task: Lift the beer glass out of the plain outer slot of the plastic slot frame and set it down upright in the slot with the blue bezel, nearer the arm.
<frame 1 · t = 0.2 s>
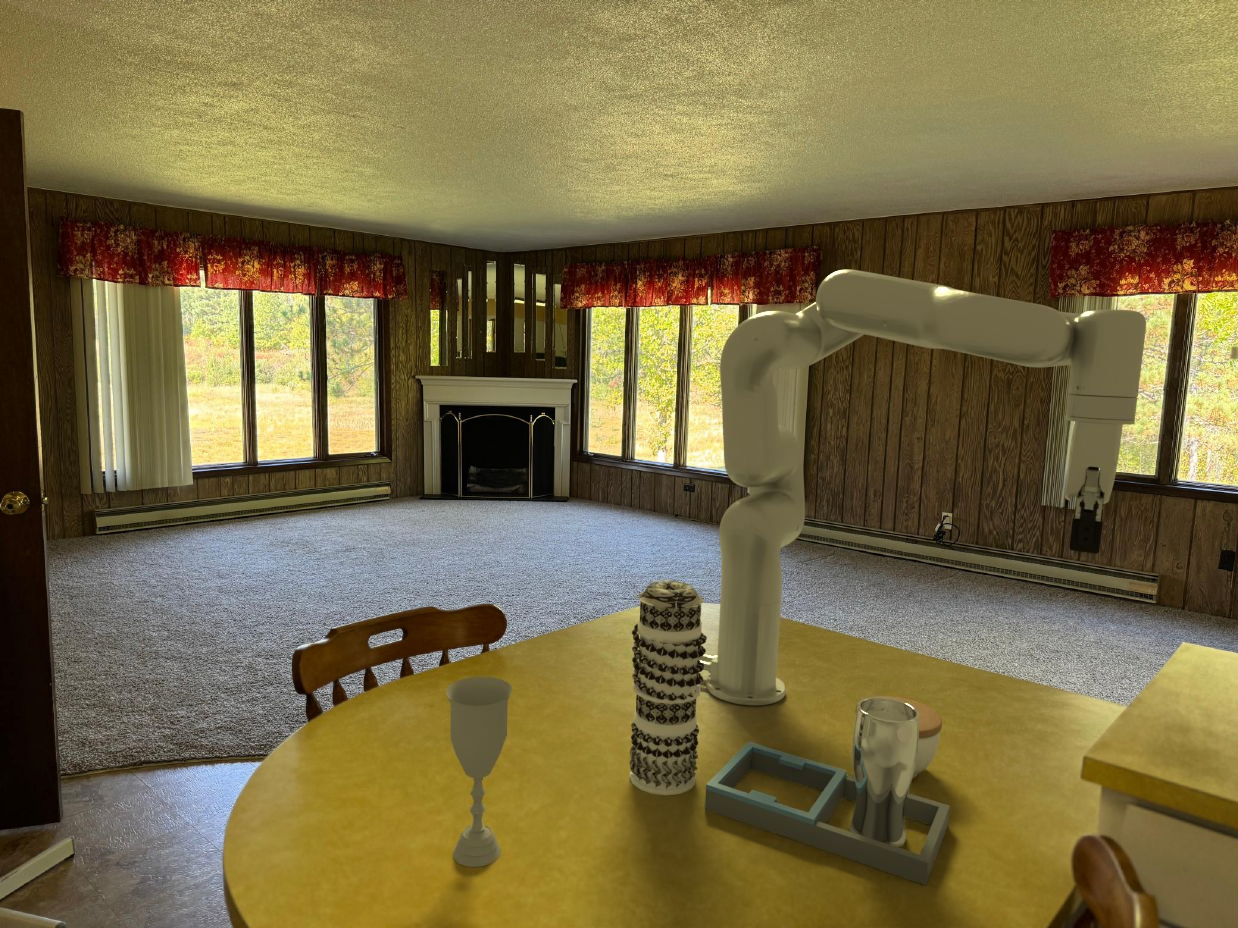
hand: (1084, 544, 105), 31 cm above the table, tool pointing down, fingers open, 9 cm apart
chalice: (476, 853, 87), on the table
beer glass: (877, 835, 93), resting in slot frame
decorative candle: (662, 779, 104), on the table
slot frame: (825, 817, 96), on the table
lidded jar: (893, 769, 109), on the table
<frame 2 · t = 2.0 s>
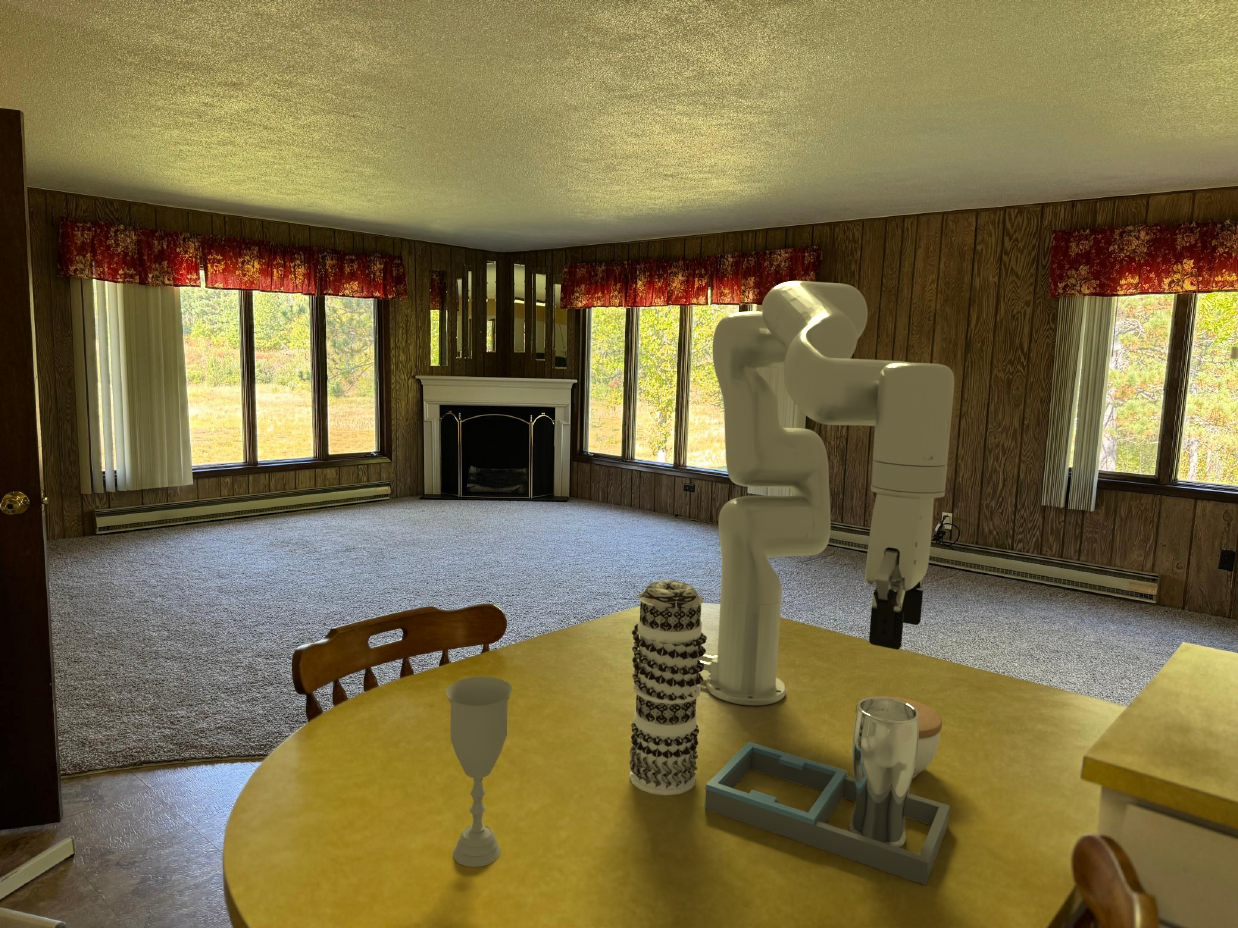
hand: (895, 633, 90), 24 cm above the table, tool pointing down, fingers open, 9 cm apart
nothing on the table moved.
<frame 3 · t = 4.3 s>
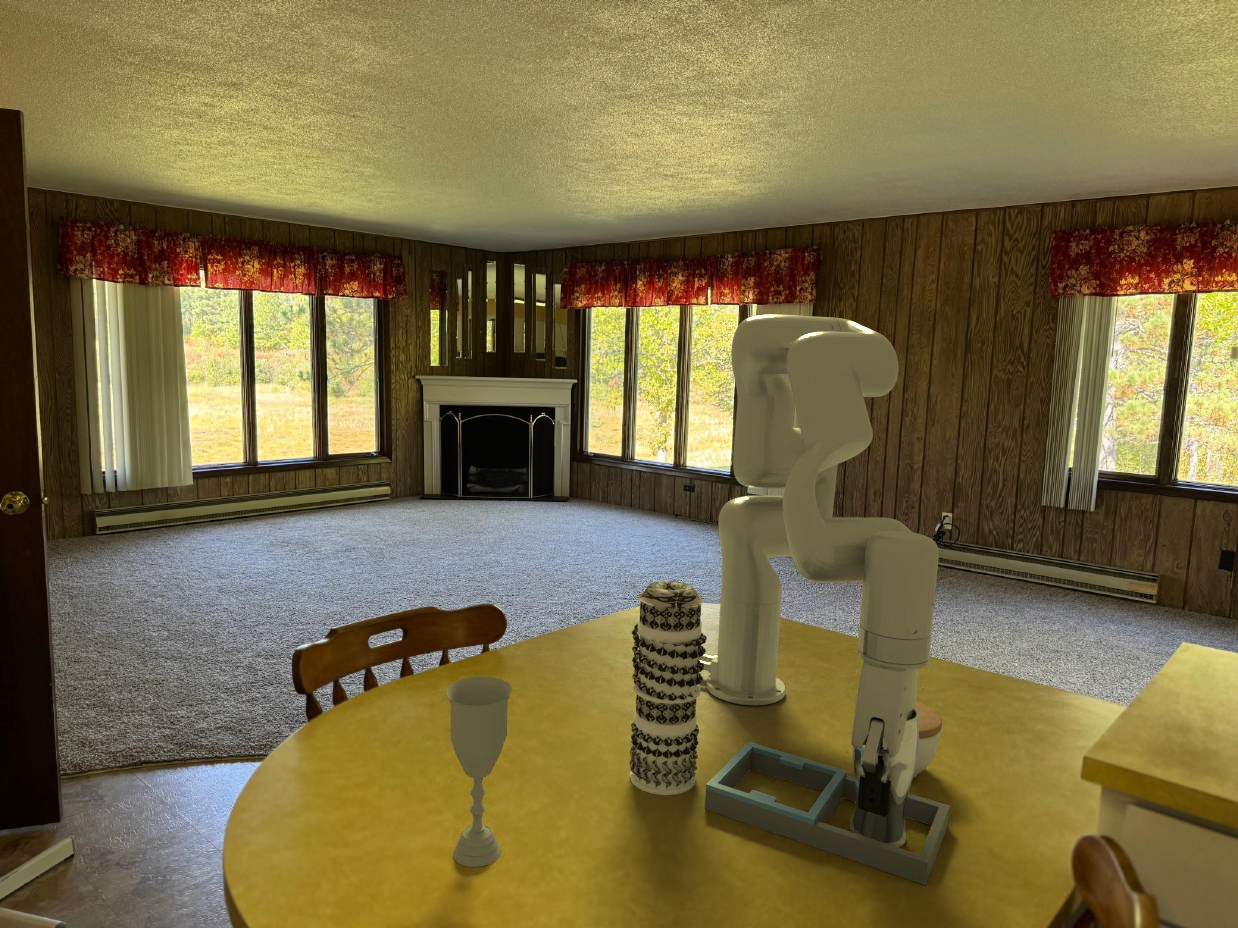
hand: (880, 795, 92), 5 cm above the table, tool pointing down, fingers closed on beer glass, 6 cm apart
beer glass: (877, 835, 93), resting in slot frame, touching gripper
everything else where it was.
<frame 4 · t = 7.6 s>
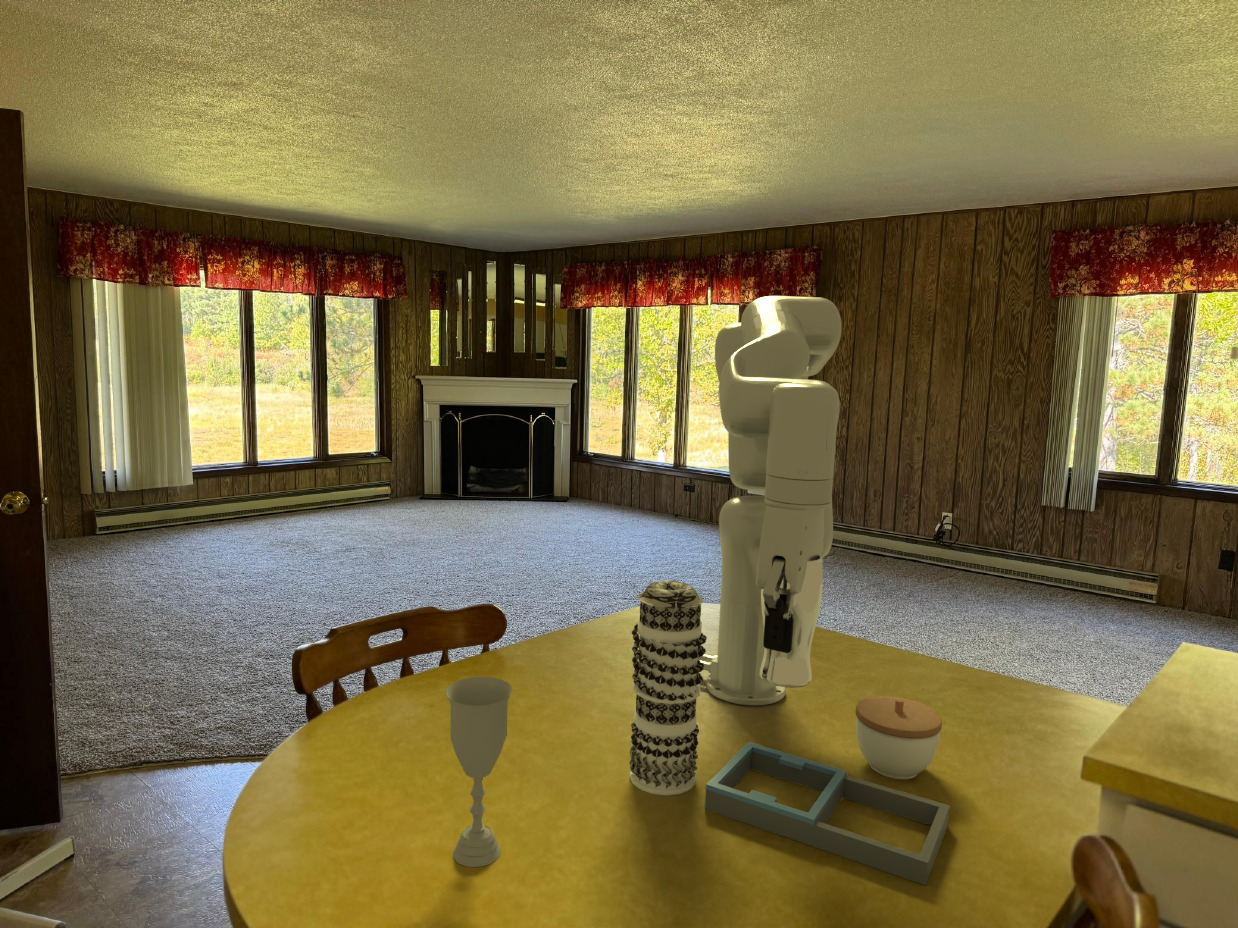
hand: (787, 639, 97), 20 cm above the table, tool pointing down, fingers closed on beer glass, 6 cm apart
beer glass: (785, 678, 97), point 15 cm above the table, touching gripper
everything else where it was.
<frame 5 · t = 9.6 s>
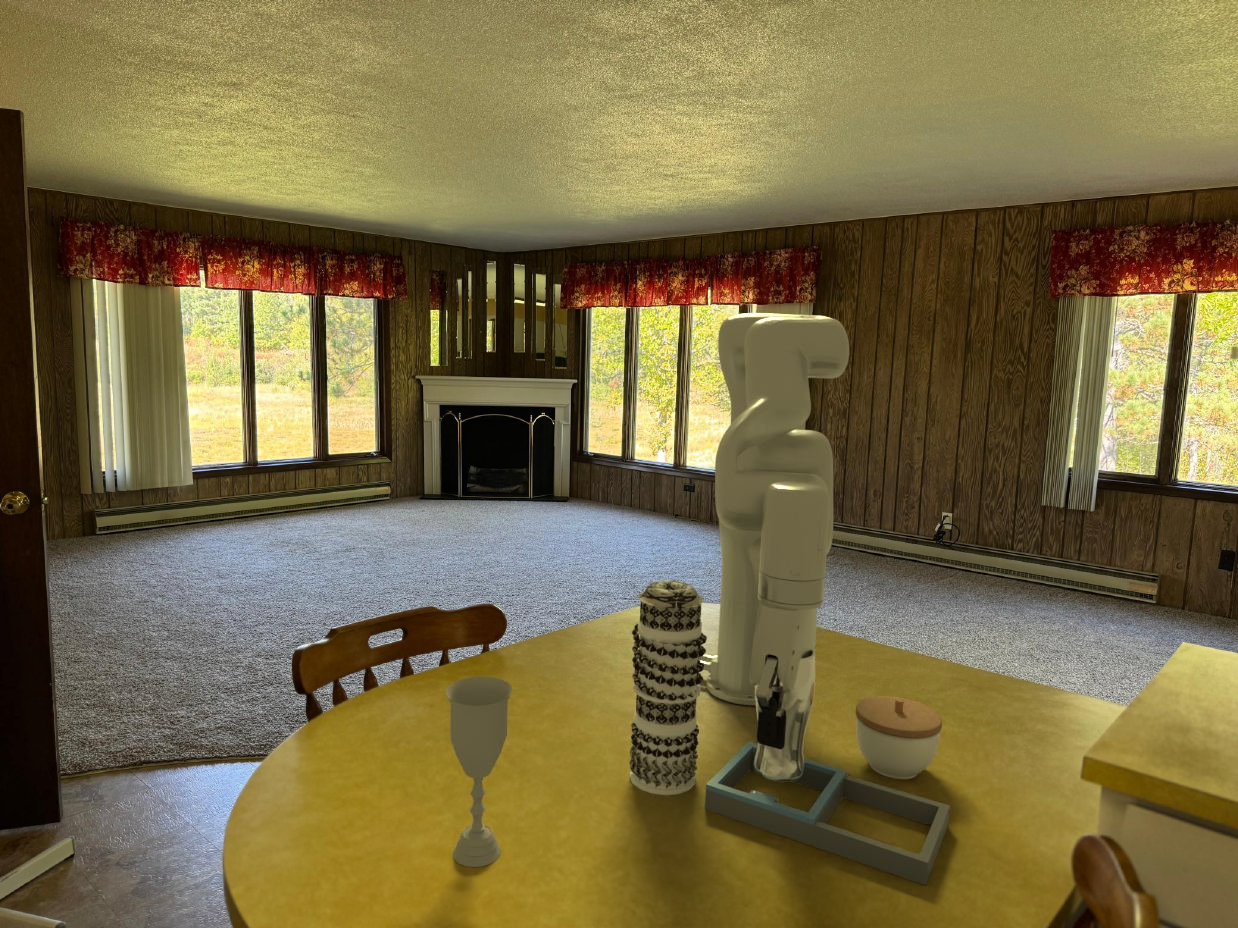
hand: (781, 732, 98), 9 cm above the table, tool pointing down, fingers closed on beer glass, 6 cm apart
beer glass: (778, 770, 99), point 4 cm above the table, touching gripper
everything else where it was.
when the fingers open (7 cm above the table, at t = 11.1 s): beer glass drops 2 cm, resting in slot frame.
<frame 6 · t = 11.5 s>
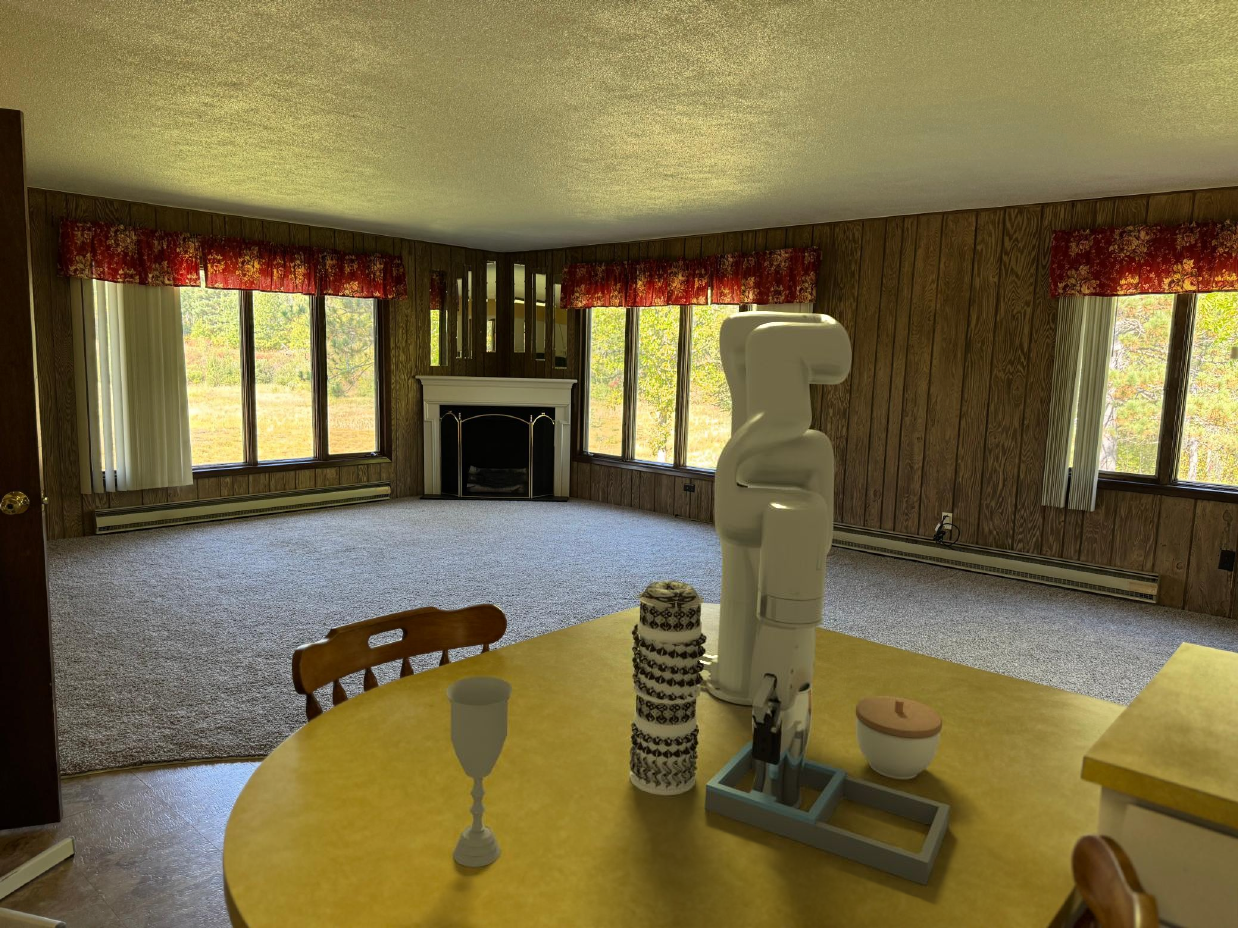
hand: (780, 744, 98), 7 cm above the table, tool pointing down, fingers open, 9 cm apart
beer glass: (775, 801, 100), resting in slot frame
everything else where it was.
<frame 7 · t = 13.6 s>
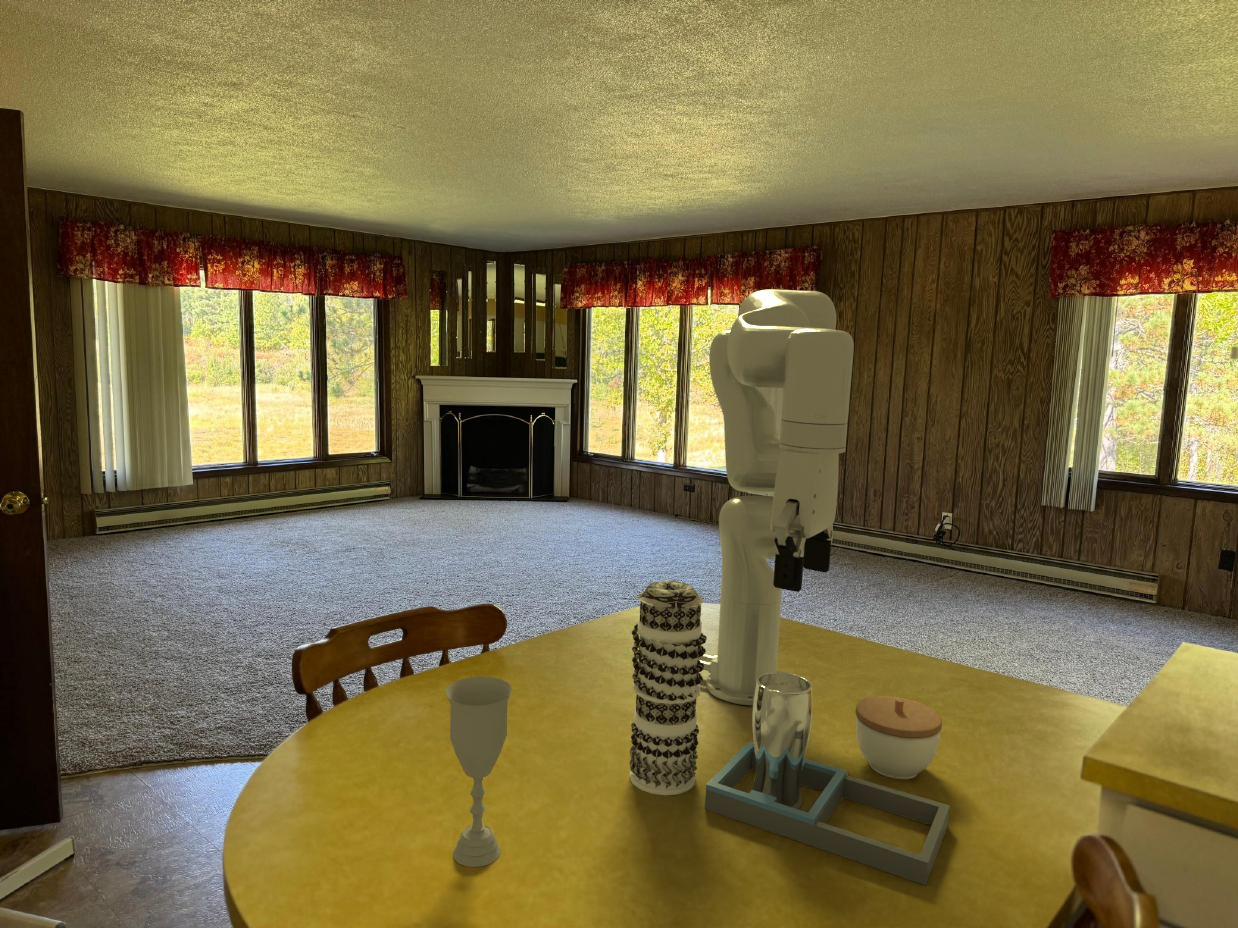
hand: (802, 579, 98), 27 cm above the table, tool pointing down, fingers open, 9 cm apart
nothing on the table moved.
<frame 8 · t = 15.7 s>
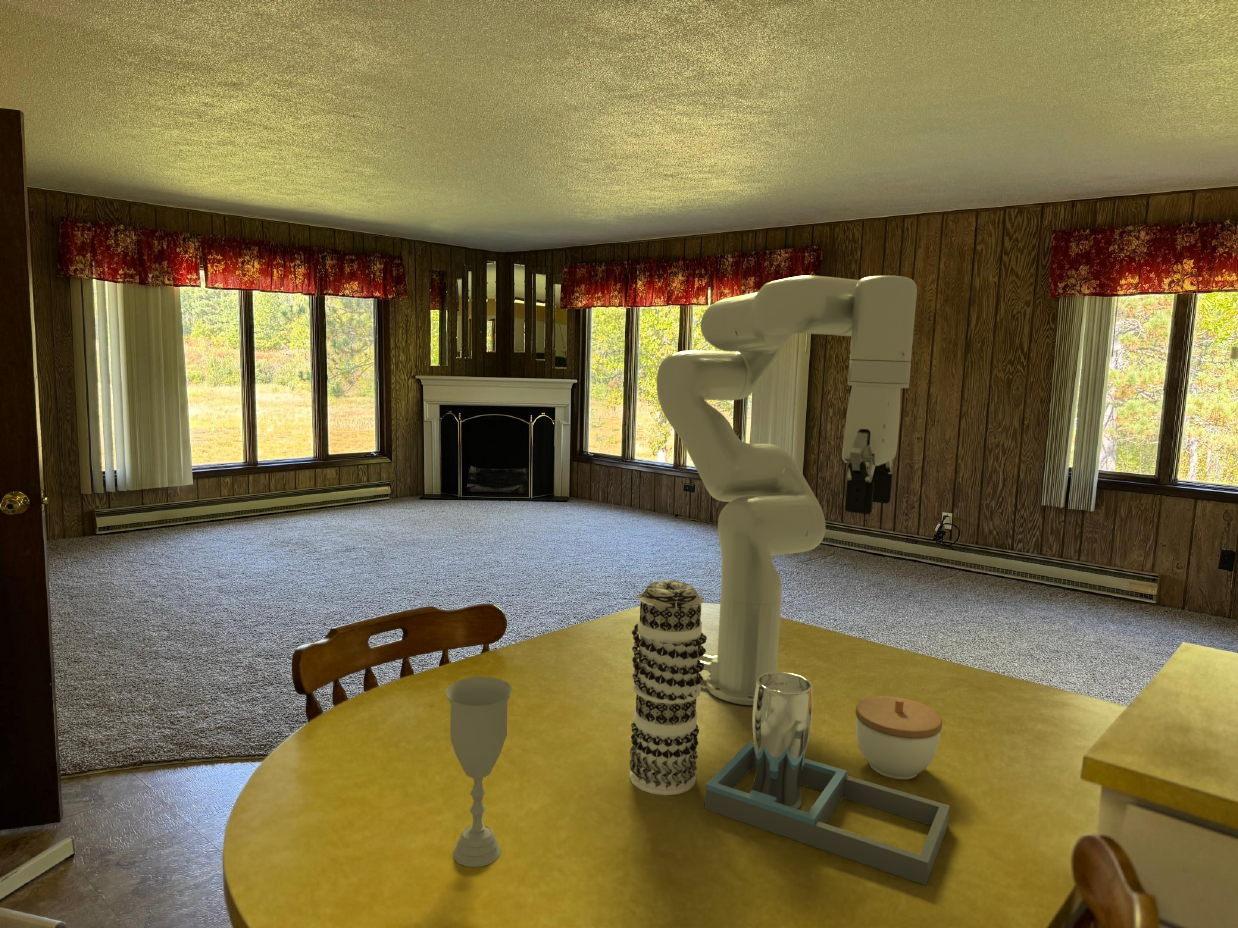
hand: (868, 507, 107), 34 cm above the table, tool pointing down, fingers open, 9 cm apart
nothing on the table moved.
at the end: beer glass 0.4 cm from the target spot on the slot frame, point 0.0 cm above the slot frame's base; beer glass tilted 0°; the gripper is holding nothing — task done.
